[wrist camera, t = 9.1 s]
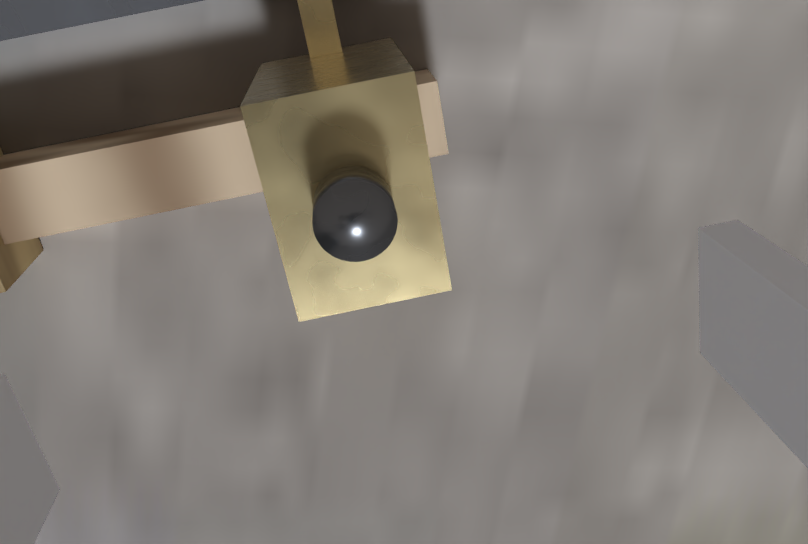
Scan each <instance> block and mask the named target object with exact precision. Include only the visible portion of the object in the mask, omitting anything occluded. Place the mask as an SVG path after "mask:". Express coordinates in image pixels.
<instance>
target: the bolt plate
mask: <svg viewBox="0 0 808 544" xmlns="http://www.w3.org/2000/svg"><path fill="white" fill-rule="evenodd" d="M198 1H203V0H0V41H2V40H7V39H12V38H17V37H22V36H27V35H32V34H37V33H42V32H47V31H52V30H57V29H62V28H68V27H73V26H78V25H83V24H88V23H93V22H98V21H103V20H108V19H113V18H118V17H123V16H128V15H133V14H138V13H143V12H148V11H153V10H158V9H163V8H168V7H173V6H178V5H183V4H188V3H193V2H198Z"/></svg>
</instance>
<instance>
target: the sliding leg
mask: <svg viewBox="0 0 808 544" xmlns="http://www.w3.org/2000/svg"><path fill="white" fill-rule="evenodd" d="M297 2H298V7H299V11H300V16H301V20H302V24H303V29H304V33H305V38H306V42H307V46H308V51H309V54H307V55H302V56H297V57H292V58H287V59H282V60H277V61H272V62H267V63H262V64H261V65H260V67H259V69H258V71H257V73H256V75H255V77H254V79H253V81H252V83H251V85H250V87H249V89H248V91H247V93H246V95H245V97H244V99H243V101H242V103H241V105H240V108H241V112H242V115H243V119H244V123H245V126H246V130H247V134H248V137H249V141H250V145H251V148H252V152H253V156H254V159H255V163H256V166H257V170H258V174H259V177H260V181H261V185H262V188H263V192H264V196H265V199H266V203H267V207H268V210H269V214H270V218H271V221H272V225H273V229H274V232H275V236H276V240H277V243H278V247H279V251H280V254H281V258H282V262H283V265H284V269H285V273H286V276H287V280H288V284H289V287H290V291H291V295H292V298H293V302H294V306H295V309H296V313H297V317H298V320H299V322H301V321H305V320H310V319H315V318H320V317H325V316H330V315H334V314H339V313H344V312H349V311H354V310H358V309H363V308H368V307H373V306H378V305H382V304H387V303H392V302H397V301H402V300H407V299H411V298H416V297H421V296H426V295H431V294H435V293H440V292H445V291H450V290H452V288H451V282H450V276H449V270H448V265H447V259H446V253H445V247H444V241H443V235H442V229H441V224H440V218H439V212H438V206H437V200H436V194H435V188H434V182H433V177H432V171H431V165H430V159H429V153H428V147H427V141H426V136H425V130H424V124H423V118H422V112H421V106H420V100H419V94H418V89H417V83H416V77H415V71H414V70H413V68H412V67H411V65H410V64H409V63H408V61H407V60H406V58H405V57H404V56H403V54H402V53H401V51H400V50H399V49H398V47H397V46H396V44H395V43H394V42H393V40H392V39H391V38H386V39H381V40H376V41H371V42H367V43H362V44H357V45H352V46H347V47H341V42H340V38H339V33H338V28H337V23H336V18H335V14H334V9H333V4H332V0H297Z"/></svg>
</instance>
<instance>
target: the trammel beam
mask: <svg viewBox="0 0 808 544" xmlns="http://www.w3.org/2000/svg"><path fill="white" fill-rule="evenodd" d="M415 77H416V83H417V89H418V94H419V100H420V106H421V112H422V118H423V124H424V130H425V136H426V141H427V147H428V153H429V158H430V157H435V156H440V155H445V154H449V153H448V147H447V140H446V134H445V128H444V121H443V115H442V109H441V103H440V96H439V90H438V84H437V80H436V79H435V78H434V77H433V75H432V74H431V73H430V72H429V71H428V69H425V70H420V71H415ZM259 192H263V188H262V185H261V181H260V177H259V174H258V170H257V166H256V163H255V159H254V156H253V152H252V148H251V145H250V141H249V137H248V134H247V130H246V126H245V123H244V119H243V115H242V112H241V108H240V107H237V108H232V109H228V110H223V111H218V112H213V113H208V114H203V115H198V116H193V117H188V118H183V119H178V120H173V121H168V122H163V123H158V124H153V125H148V126H143V127H139V128H134V129H129V130H124V131H119V132H114V133H109V134H104V135H99V136H94V137H89V138H84V139H79V140H74V141H69V142H64V143H59V144H54V145H50V146H45V147H40V148H35V149H30V150H25V151H20V152H15V153H10V154H5V155H3V152H2V150H1V147H0V293H2V292H6V291H7V290H8V289H9V288H10V287H11V286H12V284H13V283H14V282H15V281H16V280H17V279H18V278H19V277H20V276H21V274H22V273H23V272H24V271H25V270H26V269H27V268H28V267H29V266H30V264H31V263H32V262H33V261H34V260H35V259H36V258H37V257H38V256H39V254H40V253H41V252H42V251H43V248H42V245H41V243H40V240H39V237H44V236H49V235H54V234H58V233H63V232H68V231H73V230H78V229H83V228H88V227H93V226H98V225H102V224H107V223H112V222H117V221H122V220H127V219H132V218H137V217H142V216H147V215H151V214H156V213H161V212H166V211H171V210H176V209H181V208H186V207H191V206H195V205H200V204H205V203H210V202H215V201H220V200H225V199H230V198H235V197H239V196H244V195H249V194H254V193H259Z"/></svg>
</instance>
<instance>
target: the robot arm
mask: <svg viewBox="0 0 808 544" xmlns="http://www.w3.org/2000/svg"><path fill="white" fill-rule="evenodd" d="M698 259H699V328H700V353H701V354H702V355H703V356H704V358H705V359H706V360H707V361H708V362H709V363H710V364H711V365H712V366H713V367H714V368H715V369H716V370H717V372H718V373H719V374H720V375H721V376H722V377H723V378H724V379H725V380H726V381H727V382H728V383H729V384H730V385H731V387H732V388H733V389H734V390H735V391H736V392H737V393H738V394H739V395H740V396H741V397H742V398H743V399H744V400H745V402H746V403H747V404H748V405H749V406H750V407H751V408H752V409H753V410H754V411H755V412H756V413H757V414H758V416H759V417H760V418H761V419H762V420H763V421H764V422H765V423H766V424H767V425H768V426H769V427H770V428H771V429H772V431H773V432H774V433H775V434H776V435H777V436H778V437H779V438H780V439H781V440H782V441H783V442H784V443H785V444H786V446H787V447H788V448H789V449H790V450H791V451H792V452H793V453H794V454H795V455H796V456H797V457H798V458H799V460H800V461H801V462H802V463H803V464H804V465H805V466H806V467H807V468H808V266H807V265H806V264H804V263H803V262H801V261H800V260H798V259H797V258H795V257H794V256H792V255H791V254H789V253H788V252H786V251H785V250H783V249H782V248H780V247H779V246H777V245H775V244H774V243H772V242H771V241H769V240H768V239H766V238H765V237H763V236H762V235H760V234H759V233H757V232H756V231H754V230H753V229H751V228H750V227H748V226H747V225H745V224H744V223H742V222H741V221H739V220H733V221H729V222H724V223H719V224H714V225H709V226H705V227H700V228H698ZM59 490H60V487H59V485H58V483H57V481H56V479H55V477H54V475H53V473H52V471H51V469H50V466H49V464H48V462H47V460H46V458H45V456H44V454H43V452H42V450H41V448H40V446H39V443H38V441H37V439H36V437H35V435H34V433H33V431H32V429H31V427H30V425H29V423H28V420H27V418H26V416H25V414H24V412H23V410H22V408H21V406H20V404H19V402H18V400H17V398H16V395H15V393H14V391H13V389H12V387H11V385H10V383H9V381H8V379H7V377H6V375H5V373H2V374H0V544H34V543H35V541H36V539H37V536H38V534H39V532H40V530H41V528H42V526H43V524H44V522H45V520H46V518H47V515H48V513H49V511H50V509H51V507H52V505H53V503H54V501H55V499H56V497H57V494H58V492H59Z"/></svg>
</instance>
